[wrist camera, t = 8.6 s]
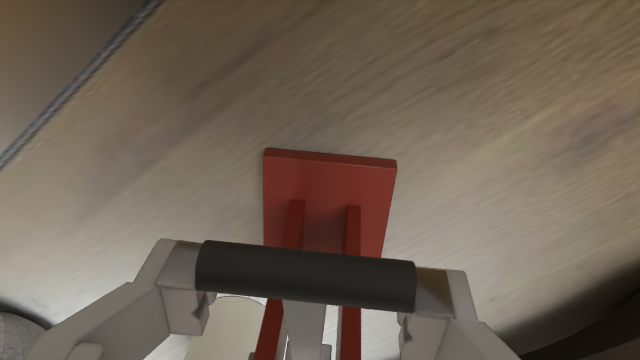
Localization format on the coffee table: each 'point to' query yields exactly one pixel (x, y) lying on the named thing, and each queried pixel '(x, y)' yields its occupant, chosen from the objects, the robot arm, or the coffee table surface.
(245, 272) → the lever
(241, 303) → the water bottle
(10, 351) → the seashell
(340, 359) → the bracket
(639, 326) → the dark brown bone
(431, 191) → the coffee table surface
